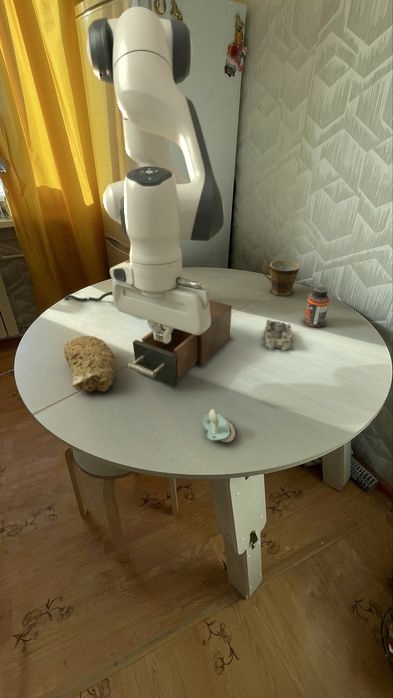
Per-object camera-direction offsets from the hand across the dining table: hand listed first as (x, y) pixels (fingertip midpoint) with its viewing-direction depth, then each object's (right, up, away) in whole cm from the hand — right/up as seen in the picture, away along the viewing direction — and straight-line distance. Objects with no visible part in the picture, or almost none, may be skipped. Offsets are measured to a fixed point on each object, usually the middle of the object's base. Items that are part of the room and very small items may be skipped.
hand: (162, 340), depth 69 cm
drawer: (-1, -7, +19) cm, 20 cm away
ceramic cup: (+36, +19, +58) cm, 71 cm away
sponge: (-20, -7, +20) cm, 29 cm away
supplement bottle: (+42, +6, +39) cm, 58 cm away
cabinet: (+7, -1, +29) cm, 30 cm away
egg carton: (+29, +1, +31) cm, 43 cm away
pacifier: (+11, -19, +2) cm, 22 cm away
